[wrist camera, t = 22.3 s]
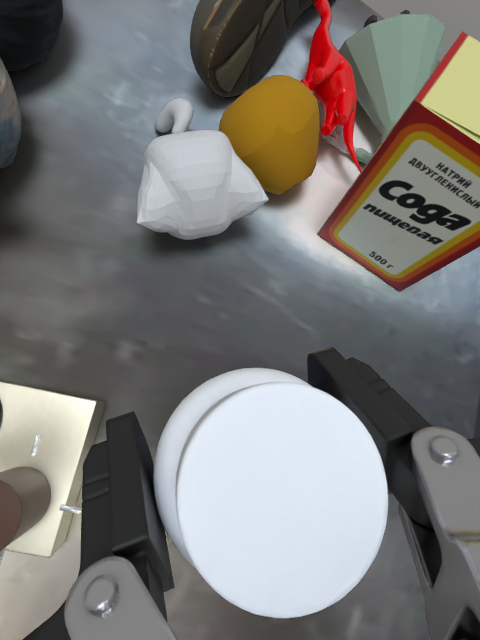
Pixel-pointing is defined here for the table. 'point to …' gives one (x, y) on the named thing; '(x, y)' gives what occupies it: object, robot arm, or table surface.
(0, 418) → the burner
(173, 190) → the toy
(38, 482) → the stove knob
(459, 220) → the baking soda box
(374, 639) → the table surface
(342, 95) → the dinosaur
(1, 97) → the sculpture
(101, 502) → the robot arm
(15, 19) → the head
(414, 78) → the character figurine
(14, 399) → the stove
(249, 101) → the apple
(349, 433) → the pill bottle
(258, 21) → the sandal
